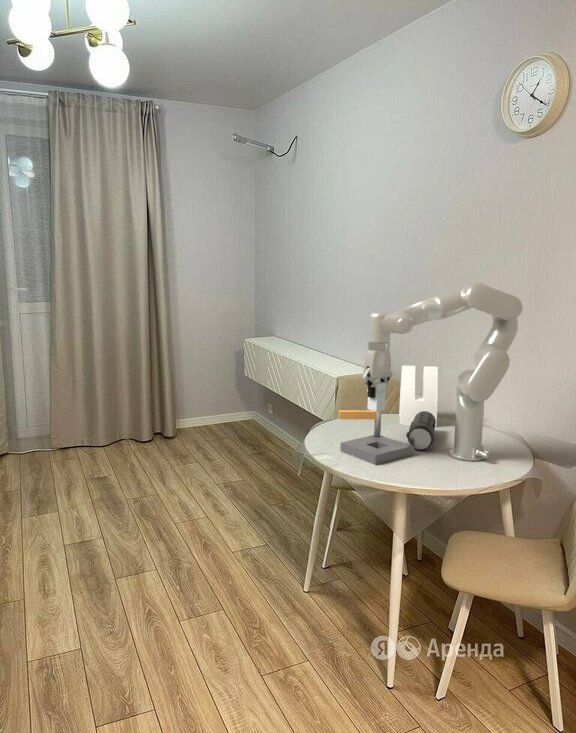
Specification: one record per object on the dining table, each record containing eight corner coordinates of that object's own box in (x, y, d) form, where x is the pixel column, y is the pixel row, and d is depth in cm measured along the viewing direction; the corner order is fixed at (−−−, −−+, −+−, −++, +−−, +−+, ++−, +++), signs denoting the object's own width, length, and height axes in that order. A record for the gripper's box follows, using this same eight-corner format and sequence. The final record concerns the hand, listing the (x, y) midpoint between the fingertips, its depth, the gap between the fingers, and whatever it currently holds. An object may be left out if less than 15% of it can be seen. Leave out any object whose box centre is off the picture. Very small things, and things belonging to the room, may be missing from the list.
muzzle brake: (412, 433, 241) (437, 431, 238) (406, 452, 215) (434, 450, 212) (409, 411, 240) (434, 409, 237) (403, 428, 214) (431, 425, 211)
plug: (386, 409, 208) (387, 382, 207) (376, 411, 205) (377, 384, 204) (376, 407, 212) (377, 380, 210) (366, 408, 209) (367, 382, 207)
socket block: (412, 455, 209) (412, 445, 209) (375, 464, 198) (375, 455, 198) (376, 443, 224) (377, 434, 223) (340, 451, 212) (340, 442, 212)
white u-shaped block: (436, 427, 248) (439, 370, 244) (400, 425, 250) (402, 369, 246) (432, 416, 266) (435, 363, 262) (399, 414, 269) (401, 362, 265)
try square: (379, 434, 221) (380, 410, 220) (380, 436, 219) (381, 411, 218) (338, 434, 221) (338, 410, 219) (338, 436, 218) (339, 411, 217)
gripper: (387, 344, 213) (385, 392, 216) (354, 347, 203) (352, 397, 206) (402, 346, 207) (400, 395, 210) (369, 349, 197) (367, 401, 200)
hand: (376, 396), depth 208 cm, fingers closed on plug, 4 cm apart
